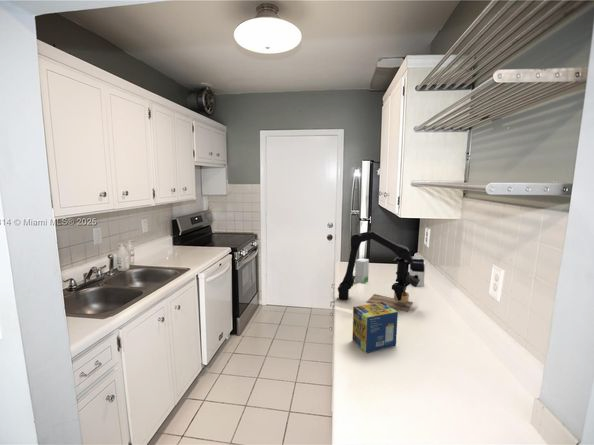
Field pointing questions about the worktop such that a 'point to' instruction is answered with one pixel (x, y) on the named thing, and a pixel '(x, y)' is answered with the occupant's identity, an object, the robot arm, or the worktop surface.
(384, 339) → the protein box
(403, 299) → the wooden ring
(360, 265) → the skincare box
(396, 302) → the post board
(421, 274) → the milk carton
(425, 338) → the worktop surface
